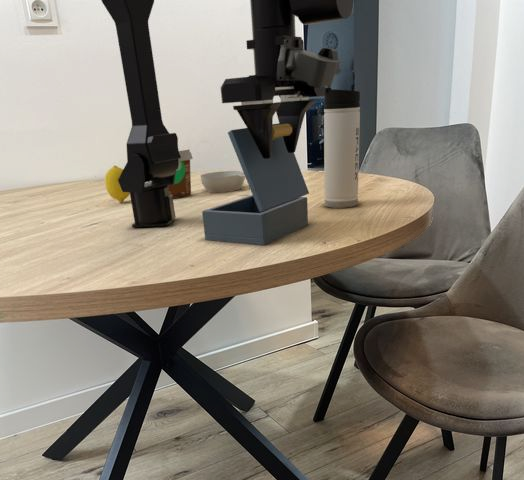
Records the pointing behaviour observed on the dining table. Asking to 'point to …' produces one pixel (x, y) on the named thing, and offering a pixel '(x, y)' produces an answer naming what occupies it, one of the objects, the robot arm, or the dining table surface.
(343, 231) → the dining table surface
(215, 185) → the saucepan
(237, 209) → the box
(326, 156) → the travel mug
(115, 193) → the lemon
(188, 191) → the food container
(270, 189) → the lid
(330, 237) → the dining table surface
